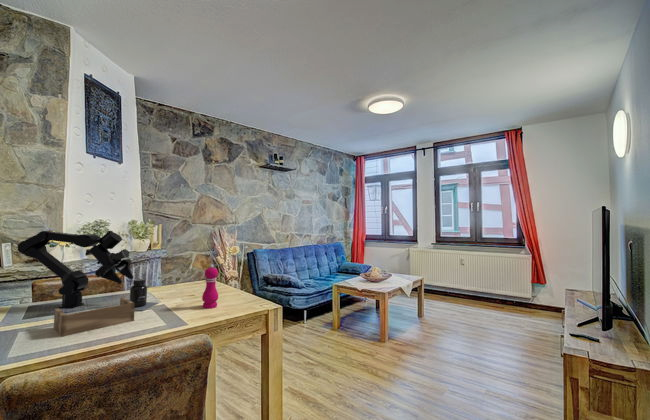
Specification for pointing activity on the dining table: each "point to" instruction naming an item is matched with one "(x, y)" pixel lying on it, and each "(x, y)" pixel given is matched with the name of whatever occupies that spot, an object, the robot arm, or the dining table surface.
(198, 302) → the dining table surface
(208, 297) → the pepper mill
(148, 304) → the felt mat
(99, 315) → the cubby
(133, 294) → the supplement bottle
